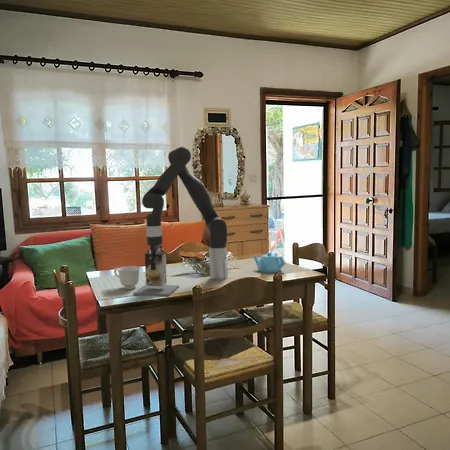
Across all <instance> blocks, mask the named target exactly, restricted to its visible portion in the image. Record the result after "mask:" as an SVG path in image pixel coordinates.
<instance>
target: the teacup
mask: <svg viewBox="0 0 450 450" xmlns="http://www.w3.org/2000/svg"><path fill="white" fill-rule="evenodd" d="M141 269H142V267H140V266H136V265H130V266H129V265H127V266H122V267H121V266H120V267H115V268H114V271H113V273H114V275H115V277H117V278H119V282H120V284H121V286H123V288H124V289H126V290H130V289H135V288H136V285H137V284H138V283H139V279H140V271H141ZM117 272H118V273H117Z"/></svg>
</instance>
